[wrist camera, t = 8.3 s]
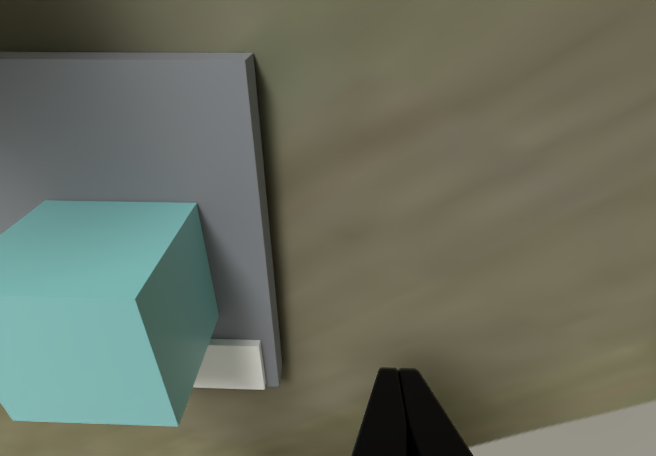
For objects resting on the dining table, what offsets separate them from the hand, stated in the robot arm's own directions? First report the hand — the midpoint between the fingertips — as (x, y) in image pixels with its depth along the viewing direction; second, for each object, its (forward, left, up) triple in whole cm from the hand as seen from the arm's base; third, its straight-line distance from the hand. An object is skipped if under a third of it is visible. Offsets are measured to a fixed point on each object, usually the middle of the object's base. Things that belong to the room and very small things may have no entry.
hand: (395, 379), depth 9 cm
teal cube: (+8, 0, -4) cm, 9 cm away
